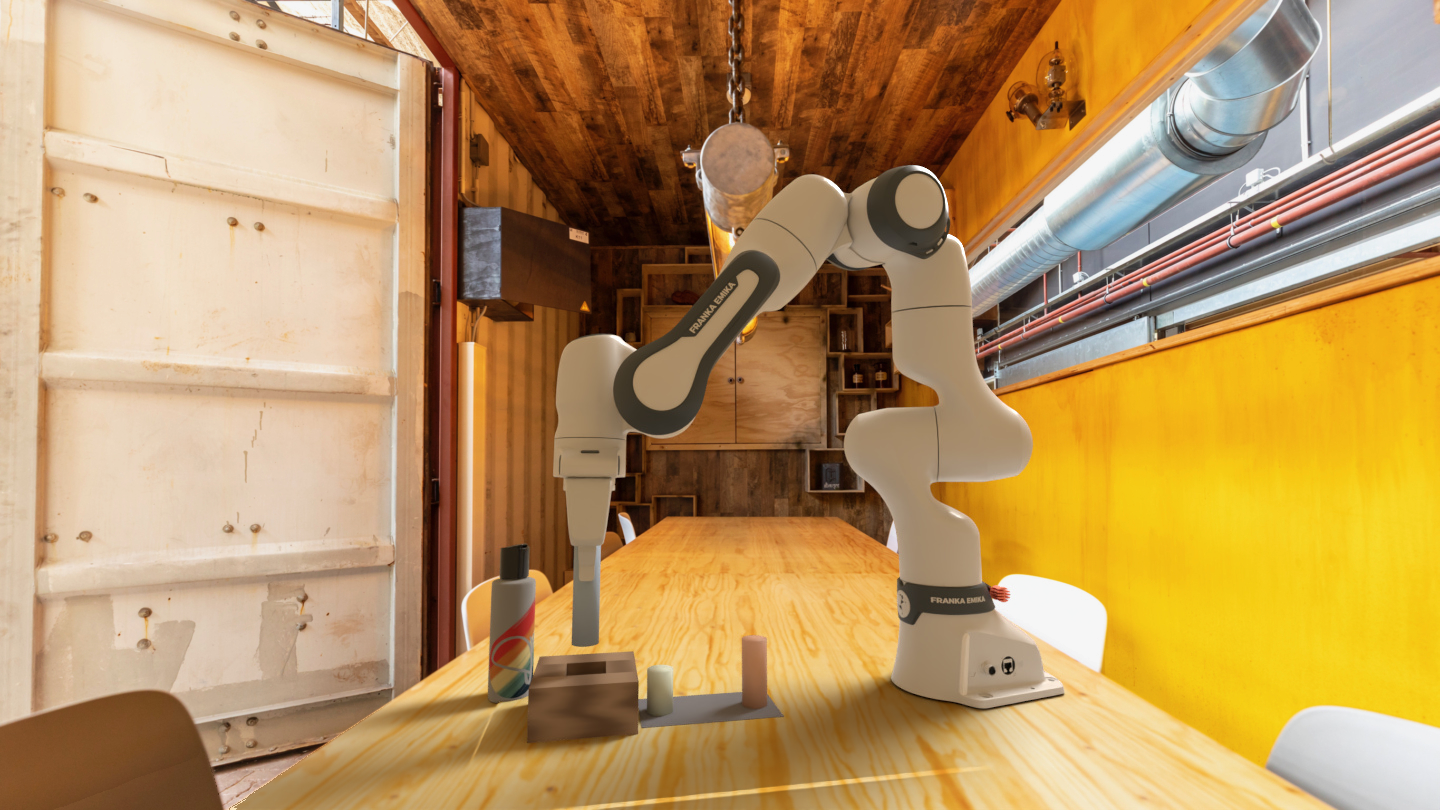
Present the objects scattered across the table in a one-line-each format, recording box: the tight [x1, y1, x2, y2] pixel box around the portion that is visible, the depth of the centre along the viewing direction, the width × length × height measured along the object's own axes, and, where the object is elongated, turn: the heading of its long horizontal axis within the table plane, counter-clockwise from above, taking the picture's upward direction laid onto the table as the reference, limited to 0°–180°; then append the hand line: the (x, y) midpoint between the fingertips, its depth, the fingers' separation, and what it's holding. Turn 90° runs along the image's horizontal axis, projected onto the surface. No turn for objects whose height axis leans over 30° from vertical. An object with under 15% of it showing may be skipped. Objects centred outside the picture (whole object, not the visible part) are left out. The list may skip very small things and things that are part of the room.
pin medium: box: [741, 634, 768, 709], centre depth 78 cm, size 3×3×8 cm
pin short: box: [646, 664, 674, 716], centre depth 76 cm, size 3×3×5 cm
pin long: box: [571, 545, 602, 648], centre depth 74 cm, size 3×3×14 cm
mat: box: [638, 691, 785, 729], centre depth 76 cm, size 17×9×1 cm, turn 101°
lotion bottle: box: [487, 543, 537, 704], centre depth 83 cm, size 6×6×20 cm
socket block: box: [526, 650, 640, 744], centre depth 74 cm, size 12×12×6 cm
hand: (586, 577), depth 75 cm, fingers closed on pin long, 3 cm apart
